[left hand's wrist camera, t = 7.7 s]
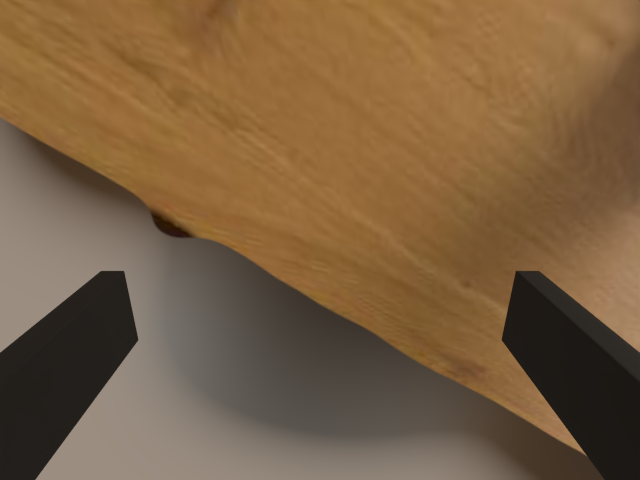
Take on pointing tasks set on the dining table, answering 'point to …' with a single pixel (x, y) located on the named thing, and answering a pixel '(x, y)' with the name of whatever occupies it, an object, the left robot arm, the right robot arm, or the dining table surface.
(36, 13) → the dining table surface
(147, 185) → the dining table surface
